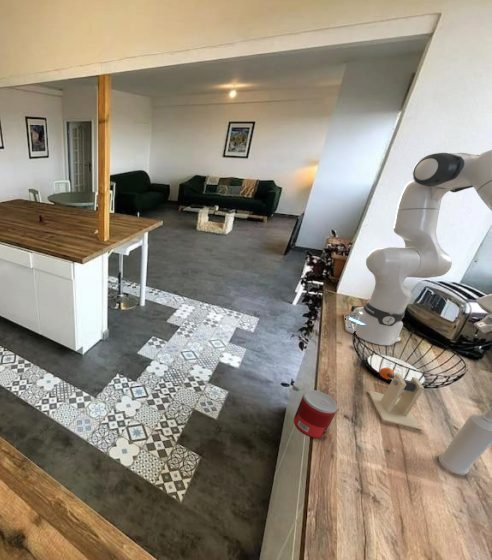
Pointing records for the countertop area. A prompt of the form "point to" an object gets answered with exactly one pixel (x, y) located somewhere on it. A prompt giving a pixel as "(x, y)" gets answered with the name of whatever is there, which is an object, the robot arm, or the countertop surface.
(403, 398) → the switch base
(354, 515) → the countertop surface
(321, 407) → the canned food
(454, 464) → the bottle
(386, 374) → the switch lever
